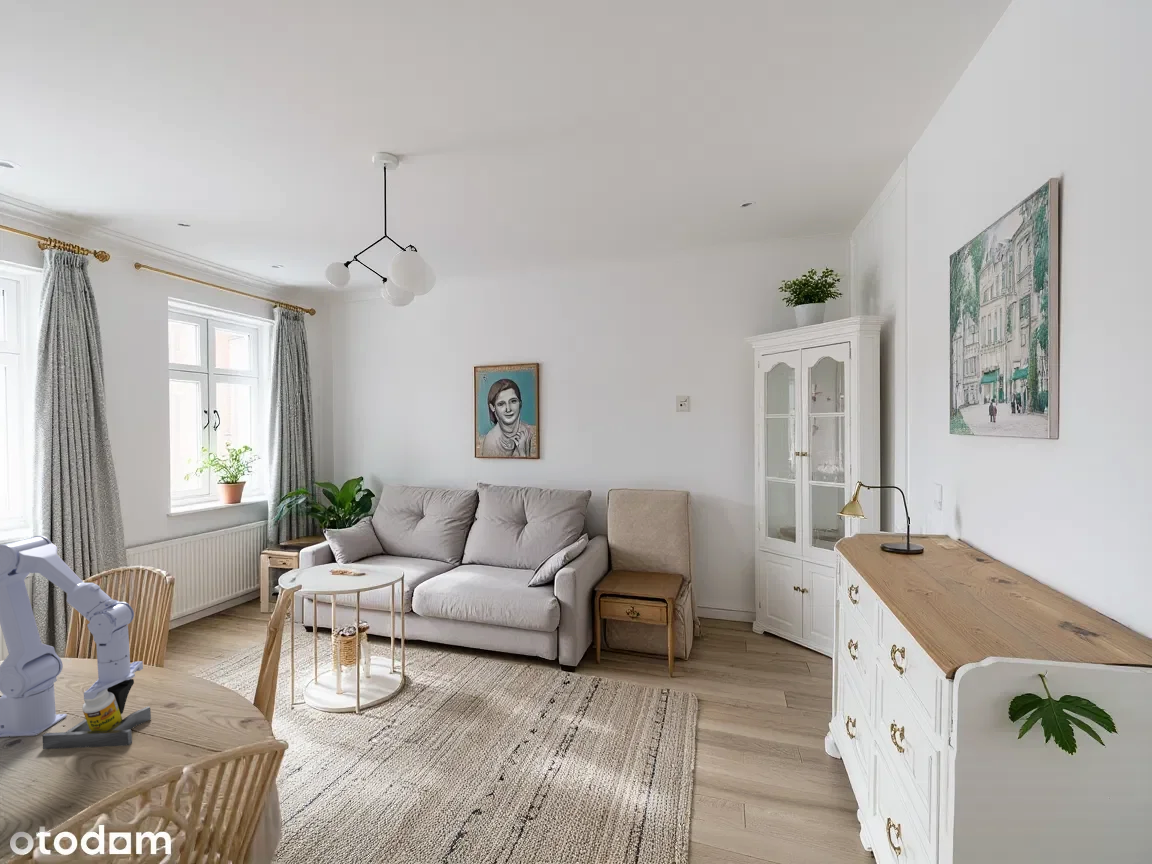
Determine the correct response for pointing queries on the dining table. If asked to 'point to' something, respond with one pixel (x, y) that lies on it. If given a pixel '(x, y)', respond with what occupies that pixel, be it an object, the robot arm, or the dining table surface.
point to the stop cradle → (97, 734)
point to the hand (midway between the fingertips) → (117, 714)
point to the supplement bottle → (102, 711)
